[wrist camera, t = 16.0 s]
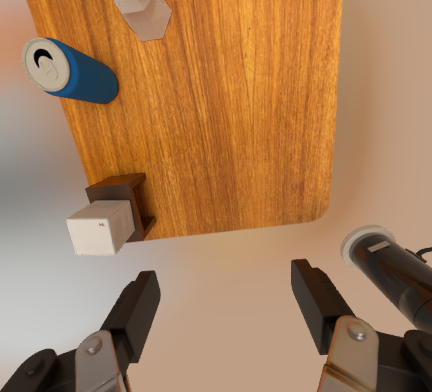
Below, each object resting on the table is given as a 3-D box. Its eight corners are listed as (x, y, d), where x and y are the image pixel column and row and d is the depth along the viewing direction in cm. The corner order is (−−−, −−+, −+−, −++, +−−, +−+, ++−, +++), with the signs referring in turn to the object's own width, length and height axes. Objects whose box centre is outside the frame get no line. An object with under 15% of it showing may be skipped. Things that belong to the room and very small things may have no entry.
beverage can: (106, 55, 34) (48, 21, 23) (126, 94, 36) (82, 80, 25) (75, 73, 35) (6, 49, 24) (96, 110, 37) (42, 104, 26)
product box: (95, 199, 34) (64, 218, 27) (130, 199, 34) (107, 218, 27) (102, 230, 36) (75, 255, 30) (136, 231, 36) (115, 256, 29)
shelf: (145, 172, 41) (127, 183, 33) (156, 221, 44) (143, 240, 37) (109, 176, 41) (84, 188, 34) (124, 224, 45) (104, 244, 37)
